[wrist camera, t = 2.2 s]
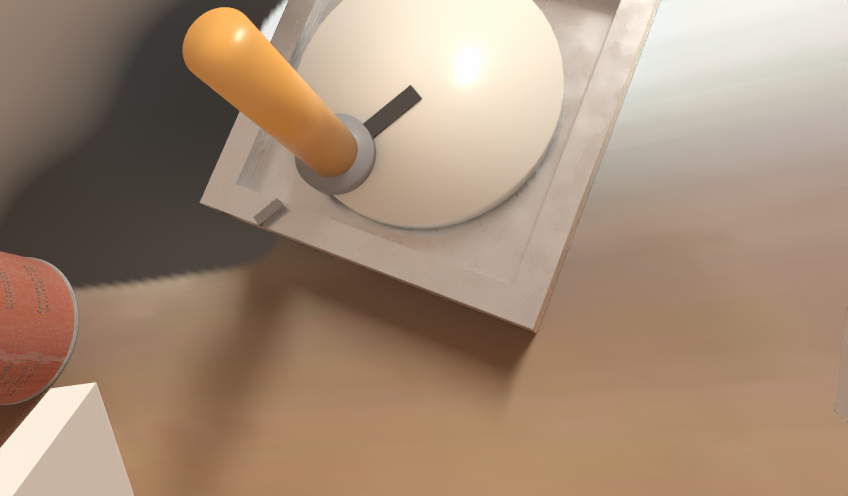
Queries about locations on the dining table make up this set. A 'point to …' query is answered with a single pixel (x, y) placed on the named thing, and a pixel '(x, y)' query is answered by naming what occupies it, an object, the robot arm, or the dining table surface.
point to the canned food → (33, 326)
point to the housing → (478, 237)
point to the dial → (399, 101)
